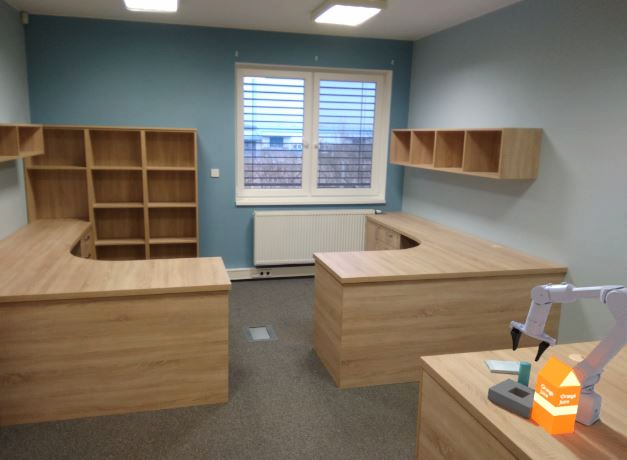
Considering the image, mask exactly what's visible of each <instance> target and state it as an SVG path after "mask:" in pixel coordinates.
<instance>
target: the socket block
mask: <svg viewBox="0 0 627 460" xmlns="http://www.w3.org/2000/svg"><path fill="white" fill-rule="evenodd" d="M534 394H535V389H534V388H531V387H529V386H528V387H527V386H525V385H523V384H520V383H518V382H517V381H516V380H514V379H511V378H507V379H504V380H503V381H501V382H499V383H496V384H494V385H493V386H491V387H488V391H487V400H489V401H492V402H494V403H496V404H498V405H499V406H502V407H504V408H506V409H508V410H510V411H512V412H514V413H516V414H518V415H520V416H522V417H524V418H527V419H528V420H530V419H532V418H531V416H532V409H533V402H534Z"/></svg>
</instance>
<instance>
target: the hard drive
mask: <svg viewBox="0 0 627 460" xmlns="http://www.w3.org/2000/svg"><path fill="white" fill-rule="evenodd" d="M483 362H484V364H485V366H486V367H487V369H488V370H489V372H491V373H502V374H516V375H518V374H519V367H520V362H519V361H513V360H511V361H510V360H495V359H484V360H483Z"/></svg>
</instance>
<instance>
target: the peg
mask: <svg viewBox="0 0 627 460" xmlns="http://www.w3.org/2000/svg"><path fill="white" fill-rule="evenodd" d="M519 363H520V367H519V374H517V375H518V376H517V381H516V382H518V383H520V384H523V385H525V386H527V387H529V384H530V376H531V369H532V364H531V363H529V362H528V361H520V362H519Z"/></svg>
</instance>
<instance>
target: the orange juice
mask: <svg viewBox="0 0 627 460" xmlns="http://www.w3.org/2000/svg"><path fill="white" fill-rule="evenodd" d="M572 368H573V367H571V366H569V365H567V364H566V363H564V362H563V361H562V360H560V359H558V358H557V357H555V356H554V355H551V356H550V358H549V359H548V360H547V361H546V363H545V364H544V365H543V367H542V368H541V369H540V370H539V372H538V373H537V376H536V383H535V389H534V390H535V394H534V402H533V409H532V416H531V418H530V419H532V420H533V421H534V422H535V423H536V424H537V425H539V426H540V427H541V428H542V429H544V430H545V431H546V432H547V433H548V434H549V435H550V436H551V435H562V434H569V433H574V429H575V422H576V420H575V418H576V413H577V407H578V400H579V394H580V388H581V385H580V383H579V381H578V379H577V377H576V375H575V373H574V371H573V369H572Z"/></svg>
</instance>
